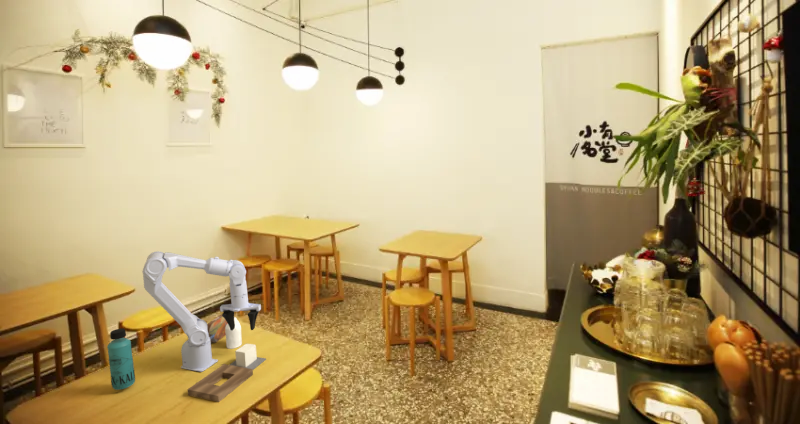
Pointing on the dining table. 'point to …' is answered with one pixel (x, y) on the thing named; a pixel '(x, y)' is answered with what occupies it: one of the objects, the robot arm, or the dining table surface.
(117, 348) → the beverage bottle
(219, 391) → the block
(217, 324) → the tin
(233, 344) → the roll
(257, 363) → the mat
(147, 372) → the dining table surface
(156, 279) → the robot arm
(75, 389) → the dining table surface
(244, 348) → the plug
